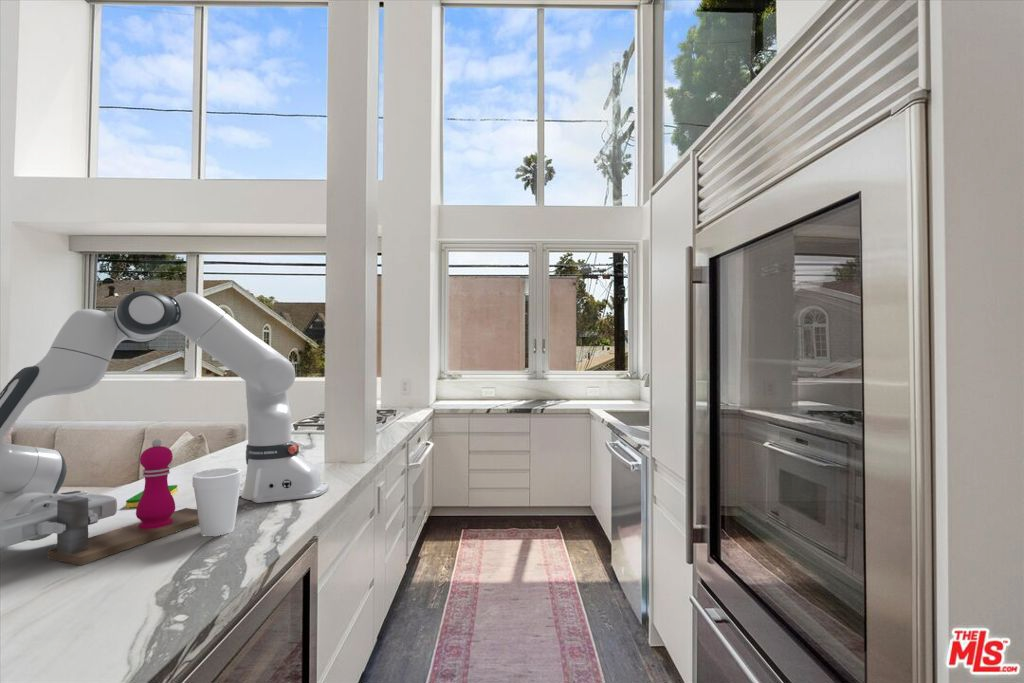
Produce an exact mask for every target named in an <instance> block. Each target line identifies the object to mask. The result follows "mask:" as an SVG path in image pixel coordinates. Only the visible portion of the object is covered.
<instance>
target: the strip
mask: <svg viewBox="0 0 1024 683" xmlns="http://www.w3.org/2000/svg"><path fill="white" fill-rule="evenodd" d="M170 518H172V519H173V522H172V523H171V524H169V525H166V526H163V527H159V528H153V529H140V528H139V524H140V523H141V522H142V521H139V522H135V523H132V524H129V525H126V526H123V527H119V528H116V529H113V530H108V531H106V532H103V533H100V534H96V535H93V536H90V537H89V525H88V498H86V497H79V496H73V497H69V498H65V499H60V500H57V522H67V523H68V531H67V532H64V533H60V534H57V533H56V535H57V536H56V539H57V540H56V541H57V542H56V547H55V548H51V549H48V550H47V559H51V560H54V561H60V562H64V563H68V564H71V565H77V566H83V565H85V564H88V563H91V562H93V561H97V560H100V559H102V558H106V557H108V555H109V556H111V555H113V553H114V554H117V553H120V552H122V550H123V551H125V549H126V550H129V549H131V548H130V547H132V548H133V546H135V547H137V546H140V545H143V544H146V543H149V542H151V541H155V540H157V538H158V539H161V538H163V537H166V536H168V534H169V535H172V534H174V532H175V533H177V532H176V531H178V532H180V531H179V530H181V531H183V530H182V529H184V530H186V529H185V528H187V529H189V528H191V527H190V526H192V527H194V526H193V525H195V526H197V524H198V525H199V518H198V512H197V508H196V509H195V508H188V507H185V508H181V509H178V510H175V511H174V513H173V514H172V515H171V516H170ZM188 527H189V528H188ZM171 533H172V534H171ZM160 537H161V538H160ZM148 541H149V542H148ZM142 543H143V544H142ZM139 544H140V545H139ZM136 545H137V546H136ZM128 548H129V549H128Z"/></svg>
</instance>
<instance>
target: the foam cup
mask: <svg viewBox="0 0 1024 683" xmlns="http://www.w3.org/2000/svg"><path fill="white" fill-rule="evenodd" d="M242 481H243V470H242V469H241V468H237V467H222V468H213V469H208V470H202V471H199V472H195V473H194V474H192V487H193V490H194V498H195V504H196V509H197V512H198V518H199V524H198V525H199V530H200V535H201V534H202V535H205V536H214V537H219V536H220V535H221V536H224V535H228V534H230V533H232V532H233V531H234V530H235V526H236V525H235V524H236V518H237V510H238V504H239V497H240V490H241V482H242ZM227 533H228V534H227ZM202 535H201V536H202ZM205 536H204V537H205ZM221 536H220V537H221Z"/></svg>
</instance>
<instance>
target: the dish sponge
mask: <svg viewBox="0 0 1024 683" xmlns="http://www.w3.org/2000/svg"><path fill="white" fill-rule="evenodd" d="M168 487H169V490H170V493H171V494H173V493H174V492H176V491H177V492H178V485H177V484H175V485H174V484H173V485H168ZM143 492H144V490H142V491H140V492H139V493H137V494H135V495H134V496H133V495H132V497H129V498H128V499H126V501H125V509H131V508H130V507H137V505H138V503H139V501H140V499H141V497H142V494H143Z"/></svg>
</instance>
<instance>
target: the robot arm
mask: <svg viewBox="0 0 1024 683" xmlns="http://www.w3.org/2000/svg"><path fill="white" fill-rule="evenodd" d="M165 331H173V332H177V333H179V334H181V335H184V336H185V337H186V338H187V339H188V340H190V341H191V342H192V343H193V344H195V345H196V346H197V347H199V348H200V349H201V350H202V351H203V352H206V354H208V355H209V356H211V357H212V358H213V359H214V360H216V361H218V362H219V363H220V365H222V366H224V367H225V368H227V369H228V370H230V371H231V372H232V373H233V374H235V375H236V376H238V377H240V378H241V379H242V380H243V381H245V396H246V397H245V398H246V408H247V444H246V445H245V446H246V449H245V461H246V462H245V463H246V465H247V466H246V475H245V480H244V481H245V482H244V486H243V488H242V493H241V498H242V499H244V500H248V501H253V503H257V504H260V503H270V502H280V501H288V500H289V501H290V500H298V499H308V498H316V497H318V496H321V495H323V494H325V493H326V492H327V491H328V490H329V489H330V488H329V487H330V486H329V483H328V481H321V480H322V479H321V473H320V470H319V467H318V466H317V465H316V464H315V463H312V461H309V460H308V459H306V458H305V457H303V456H302V455H301V454H299V452H300V451H299V450H300V443H299V442H298V443H296V442H295V441H293V440H292V412H291V407H290V398H289V389H290V388H291V387H292V386H293V384H294V382H295V380H296V371H295V367H294V365H293V364H292V362H291V360H289V359H288V358H286V357H285V356H284V355H283V354H281V353H280V352H278V351H277V350H276V349H275V348H273V347H271V346H270V345H269V344H267V343H266V342H265V341H263V340H262V339H261V338H260V337H258V336H257V335H255V334H253V333H252V332H251V331H249V330H248V329H247V328H246V327H244V326H243V325H242V324H241V323H239V322H238V320H236V319H234V317H232V316H231V315H230V314H229V313H227V312H226V311H225V310H223V309H222V308H220V307H219V306H218V305H216V304H215V303H214V302H212V301H211V300H209V299H207V298H205V297H204V296H202V295H200V294H198V293H196V292H194V291H193V292H192V291H185V292H182V293H180V294H177V295H175V296H174V297H173V296H171V295H166V294H163V293H160V292H159V293H158V292H154V291H149V290H137V291H134V292H130V293H129V294H126V295H125V296H124V297H123V298H121V300H120V301H119V303H118V305H117V306H116V308H114V309H113V310H111V311H103V310H98V309H93V308H82V309H79V310H76V311H74V312H73V313H72V314H71V315H70V316H69V317H68V319H67V320H66V321H65V322H64V323H63V325H62V326H61V328H60V330H59V331H58V332H57V335H56V336H55V338H54V340H53V342H52V344H51V345H50V348H49V350H48V351H47V353H46V355H45V356H44V357H43V358H42V359H41V360H40V361H38V362H37V363H36V364H34V365H32V366H26V367H23V368H22V369H20V371H18V372H17V373H15V375H13V377H12V378H11V379H10V380H9V381H8V383H7V384H6V385H5V386H4V388H3V389H2V390H1V392H0V549H1V548H7V547H10V546H13V545H17V544H21V543H23V542H27V541H31V542H32V541H33V542H34V541H40V540H43V539H45V538H48V537H50V536H51V535H53V534H56V535H57V534H60V533H64V532H67V531H68V523H67V522H57V500H60V499H65V498H69V497H73V496H79V497H86V498H88V526H90V525H94V524H97V523H98V522H99V520H103V519H105V518H109V517H112V516H115V515H116V514H117V513H118V512H117V511H118V501H117V500H118V499H117V498H116V497H114V496H111V495H105V494H99V493H88V491H87V490H85V489H84V490H75V491H68V492H67V491H66V492H61V493H60V492H59V491H60V490H61V488H62V486H63V484H64V481H65V479H66V475H67V472H68V471H67V470H68V469H67V468H68V467H67V464H66V460H65V458H64V456H63V454H62V453H61V452H60V451H58V450H57V449H52V448H51V449H50V448H45V447H39V446H29V445H22V444H20V445H19V444H14V443H8V442H7V443H6V442H4V440H5V437H6V436H7V434H8V433H9V432H10V430H11V429H12V428H13V426H14V424H15V423H16V422H17V421H18V419H19V418H20V416H21V415H22V413H23V412H24V411H25V409H26V408H27V406H28V405H30V404H31V403H32V402H35V401H36V400H38V399H41V398H44V397H50V396H58V395H59V396H60V395H62V396H63V395H73V394H76V393H81V392H84V391H87V390H90V389H91V388H94V387H95V386H96V385H98V384H99V383H100V382H101V381H102V379H103V378H104V376H105V374H106V372H107V369H108V368H109V365H110V363H111V360H112V357H113V355H114V353H115V350H116V349H117V347H118V346H119V345H120V344H147V343H149V342H153V341H155V340H156V339H158V338H159V337H160V336H161V335H163V334H164V333H165Z"/></svg>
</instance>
